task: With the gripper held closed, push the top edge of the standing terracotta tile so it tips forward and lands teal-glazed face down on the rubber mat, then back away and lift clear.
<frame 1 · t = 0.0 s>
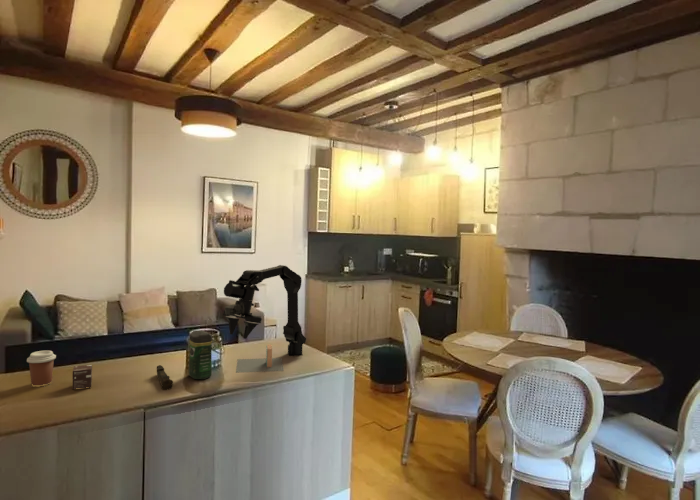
hand: (237, 336, 185), 15 cm above the sideboard, tool pointing down, fingers open, 9 cm apart
mat: (259, 366, 195), on the sideboard
tile: (269, 364, 195), point 1 cm above the sideboard, touching mat
box: (82, 387, 165), on the sideboard
coffee cup: (41, 384, 166), on the sideboard
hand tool: (161, 383, 172), on the sideboard
coffee jar: (200, 376, 180), on the sideboard
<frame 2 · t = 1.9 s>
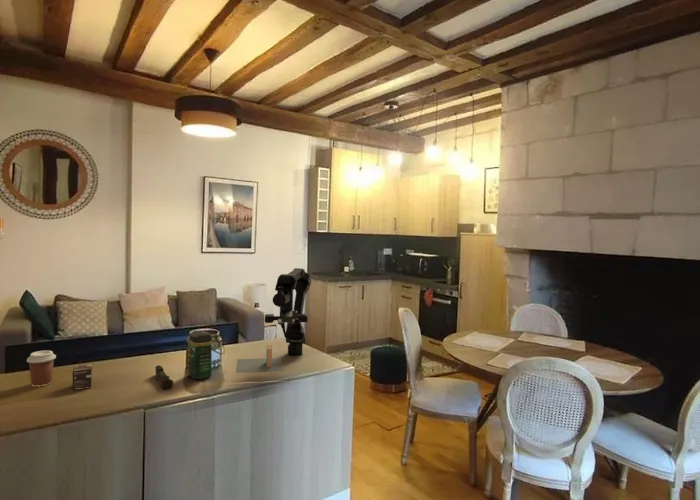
hand: (285, 337, 196), 13 cm above the sideboard, tool pointing down, fingers closed
nothing on the sideboard moved.
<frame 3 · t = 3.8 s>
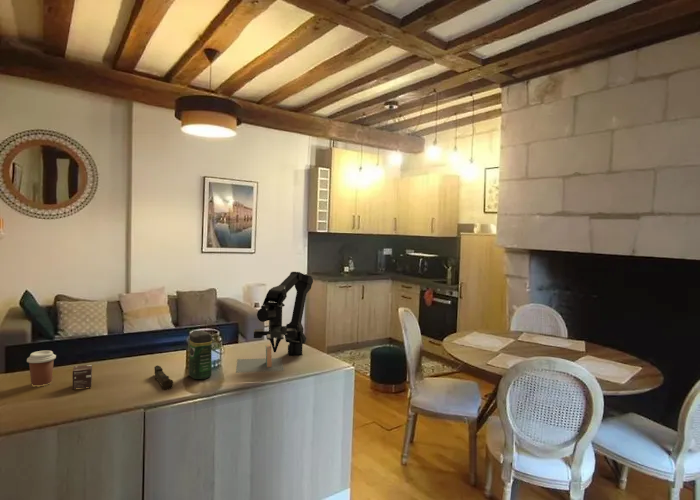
hand: (274, 352, 196), 6 cm above the sideboard, tool pointing down, fingers closed
tile: (269, 364, 195), point 1 cm above the sideboard, touching gripper, mat
everything else where it was.
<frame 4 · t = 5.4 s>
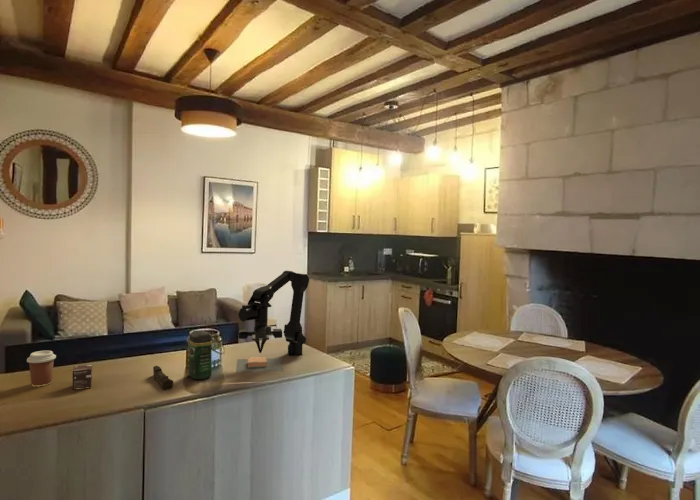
hand: (260, 352, 194), 6 cm above the sideboard, tool pointing down, fingers closed
tile: (266, 361, 195), point 2 cm above the sideboard, tilted 90°, touching mat
everything else where it was.
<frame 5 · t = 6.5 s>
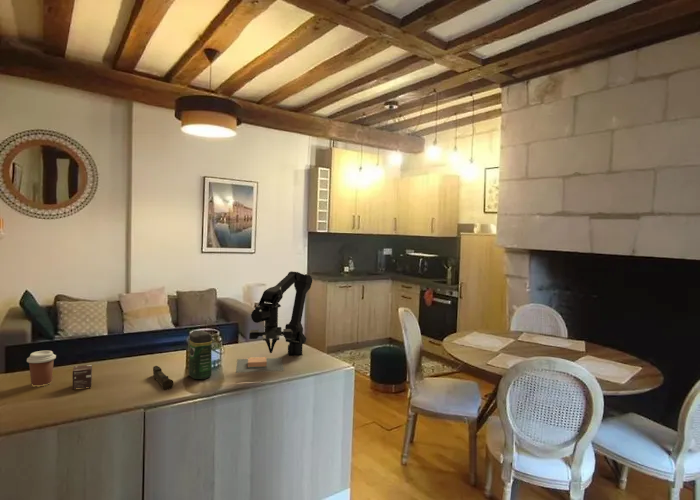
hand: (270, 352, 196), 6 cm above the sideboard, tool pointing down, fingers closed
nothing on the sideboard moved.
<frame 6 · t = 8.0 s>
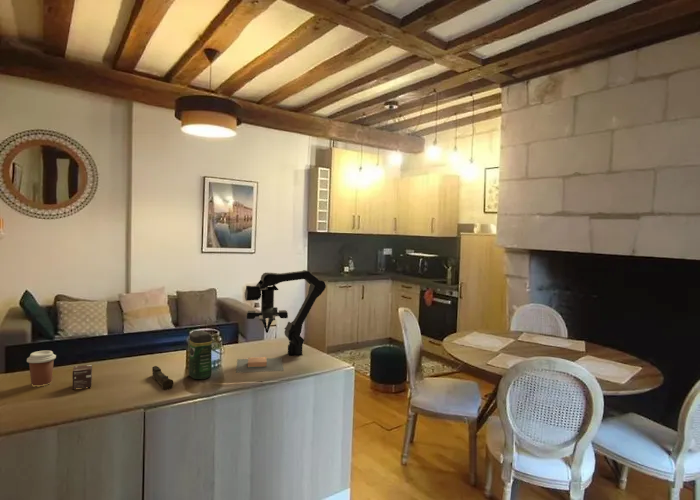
hand: (266, 332, 206), 12 cm above the sideboard, tool pointing down, fingers closed
nothing on the sideboard moved.
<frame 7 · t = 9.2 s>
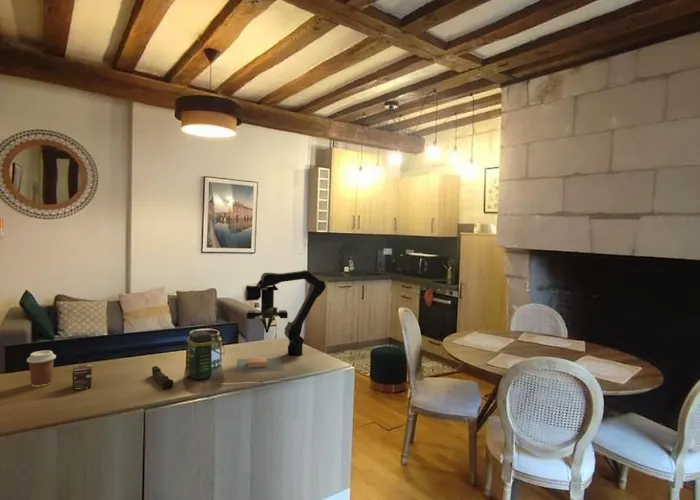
hand: (266, 332, 206), 12 cm above the sideboard, tool pointing down, fingers closed
nothing on the sideboard moved.
at the end: tile tilted 90°; tile inside the target area on the mat (1.8 cm from its centre), point 1.9 cm above the mat's base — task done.
